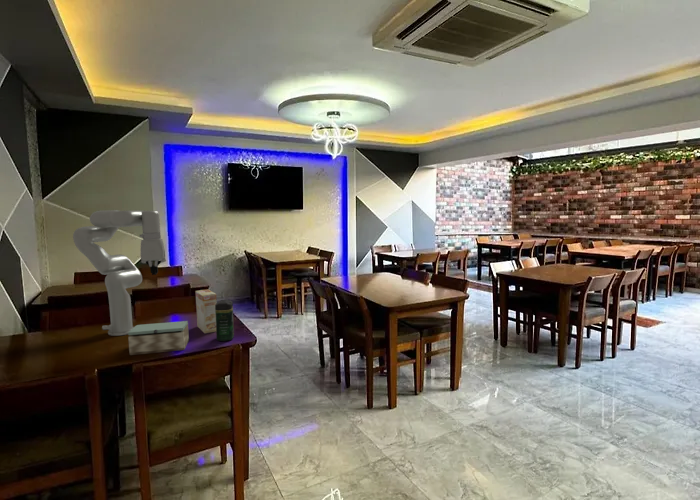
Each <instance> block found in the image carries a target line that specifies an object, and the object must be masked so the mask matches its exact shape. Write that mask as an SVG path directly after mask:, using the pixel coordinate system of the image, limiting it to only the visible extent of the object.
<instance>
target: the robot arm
mask: <svg viewBox="0 0 700 500" xmlns="http://www.w3.org/2000/svg"><path fill="white" fill-rule="evenodd" d="M89 222H90V223H91V225H87V226H81V227H78V228H76V229H75V230H74V231H73V234H72V238H73V239H72V240H73V243H74V246H75V248H77V249H78V251H79V252H80V253H82V254H83V255H84V256H85V258H87V259H88V261H89V262H90V263H91V264H92V265H93V266H94V268H95V269H96V270H97V272H98V273H100V274H101V275H104V276H105V275H106V276H105V278H104V284H105V288H106V291H107V296H108V304H109V307H108V308H109V317H110V319H109V320H110V324H109V325H102V327H101V330H102V331H107V334H108V335H109V336H112V337H113V336H114V337H117V336H126V335H128V332H129V331H130V330H132V329H133V328H134V327H135V326H134V325H133V315H132V314H133V313H132V303H131V302H132V300H131V299H132V298H131V295H130V294H129V291H127V289H129V288H134V287H137V286H139V285H141V284H142V282H143V275H142V273H141V271H140V270H139V268H137V266H136V265H135V264H134V263H133V262H132V260H131V259H130V258H129V257H128V256H127V255H124V254H113V255H111V254H109V253H108V252H107V251H106V250H105V248H103V247H102V246H100V245H98V244H96V243H101V242H102V243H103V242H108V241H110V240H111V239H112V238H113V237H114V235H115V234H116V232H117V231H118V229H119V228H122V227H123V228H126V227H127V228H129V227H141V228H142V233H141V234H139V238H142V239H141V241H140V263H142V264H146V265H148V266H149V270H150V273H151V275H152V276H156V275H157V274H158V273H159V265H160V264H162V263H165V262H166V261H167V260H166V252H165V245H164V241H163V239H162V237H161V236H162V234H161V223H160V213H159V211H157V210H142V209H141V210H140V209H139V210H137V209H135V210H131V209H129V210H119V209H112V210H111V209H108V210H106V209H105V210H97V211H93V212H92V213H91V214H90V216H89ZM153 261H154V262H153Z"/></svg>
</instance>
